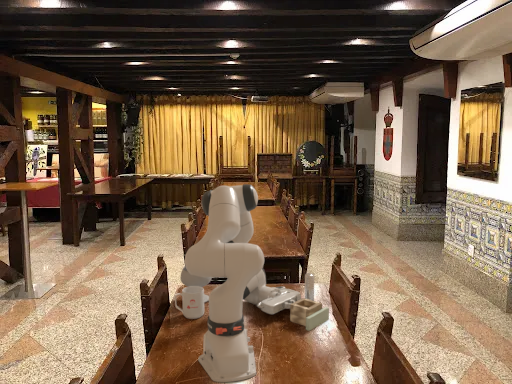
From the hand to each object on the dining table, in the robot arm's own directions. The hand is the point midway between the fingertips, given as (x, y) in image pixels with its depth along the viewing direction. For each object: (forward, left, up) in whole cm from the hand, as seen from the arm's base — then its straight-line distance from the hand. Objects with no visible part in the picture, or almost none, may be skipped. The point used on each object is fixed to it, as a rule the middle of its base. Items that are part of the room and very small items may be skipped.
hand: (296, 306), depth 178 cm
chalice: (+32, +37, -5) cm, 49 cm away
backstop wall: (-8, -6, -5) cm, 11 cm away
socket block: (-4, -3, -5) cm, 7 cm away
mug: (+15, +42, -5) cm, 44 cm away
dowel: (+11, -10, -5) cm, 15 cm away
